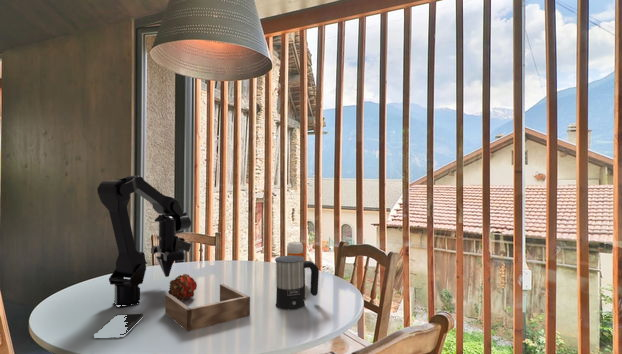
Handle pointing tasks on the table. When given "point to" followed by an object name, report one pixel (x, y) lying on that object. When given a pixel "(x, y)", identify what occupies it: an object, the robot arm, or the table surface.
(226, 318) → the box
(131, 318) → the phone
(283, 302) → the milk frother
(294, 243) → the white capped bottle
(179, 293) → the dragon fruit
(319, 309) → the table surface
